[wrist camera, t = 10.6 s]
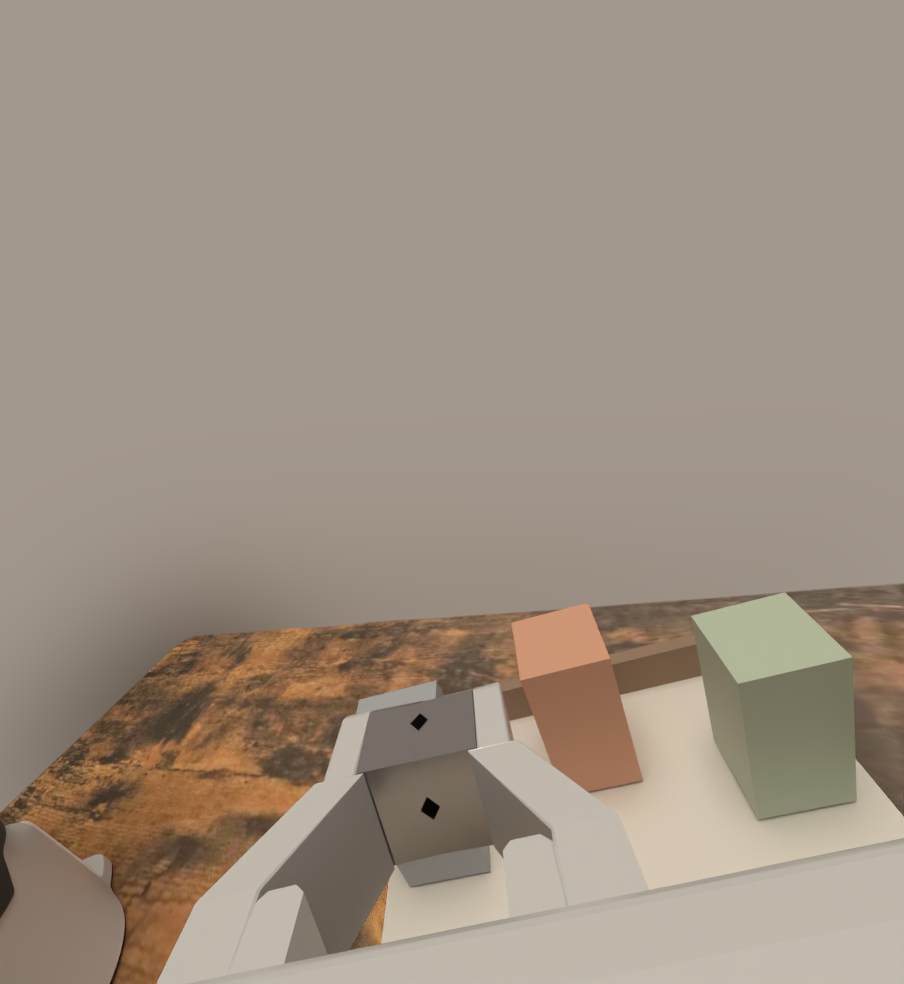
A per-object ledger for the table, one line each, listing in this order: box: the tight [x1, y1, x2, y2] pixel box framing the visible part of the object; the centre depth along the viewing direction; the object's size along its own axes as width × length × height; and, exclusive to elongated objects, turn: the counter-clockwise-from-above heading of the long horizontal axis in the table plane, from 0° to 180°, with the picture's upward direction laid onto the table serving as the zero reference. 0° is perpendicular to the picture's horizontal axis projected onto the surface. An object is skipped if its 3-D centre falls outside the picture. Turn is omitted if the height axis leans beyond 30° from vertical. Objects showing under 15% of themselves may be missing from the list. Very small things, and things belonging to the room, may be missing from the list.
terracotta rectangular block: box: [512, 603, 643, 792], centre depth 31 cm, size 5×5×10 cm
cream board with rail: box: [381, 634, 904, 944], centre depth 30 cm, size 28×19×4 cm
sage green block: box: [691, 593, 857, 819], centre depth 27 cm, size 5×5×10 cm
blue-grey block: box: [356, 680, 490, 887], centre depth 29 cm, size 5×5×10 cm
